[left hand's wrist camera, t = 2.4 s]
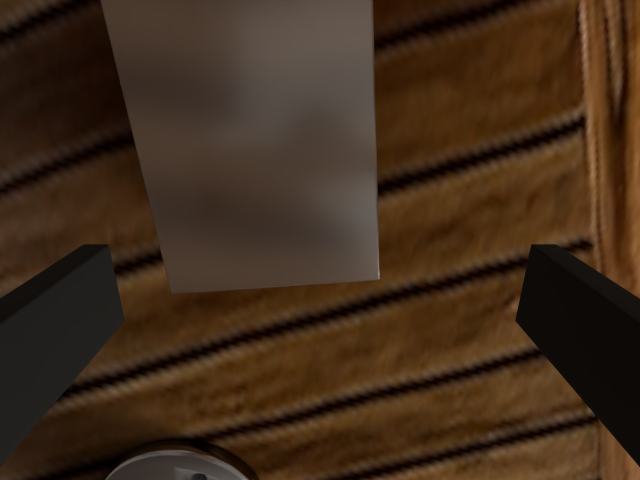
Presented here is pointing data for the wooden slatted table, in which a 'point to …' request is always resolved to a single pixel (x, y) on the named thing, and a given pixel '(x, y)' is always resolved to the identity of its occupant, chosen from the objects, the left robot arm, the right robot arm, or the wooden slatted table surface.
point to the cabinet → (254, 137)
